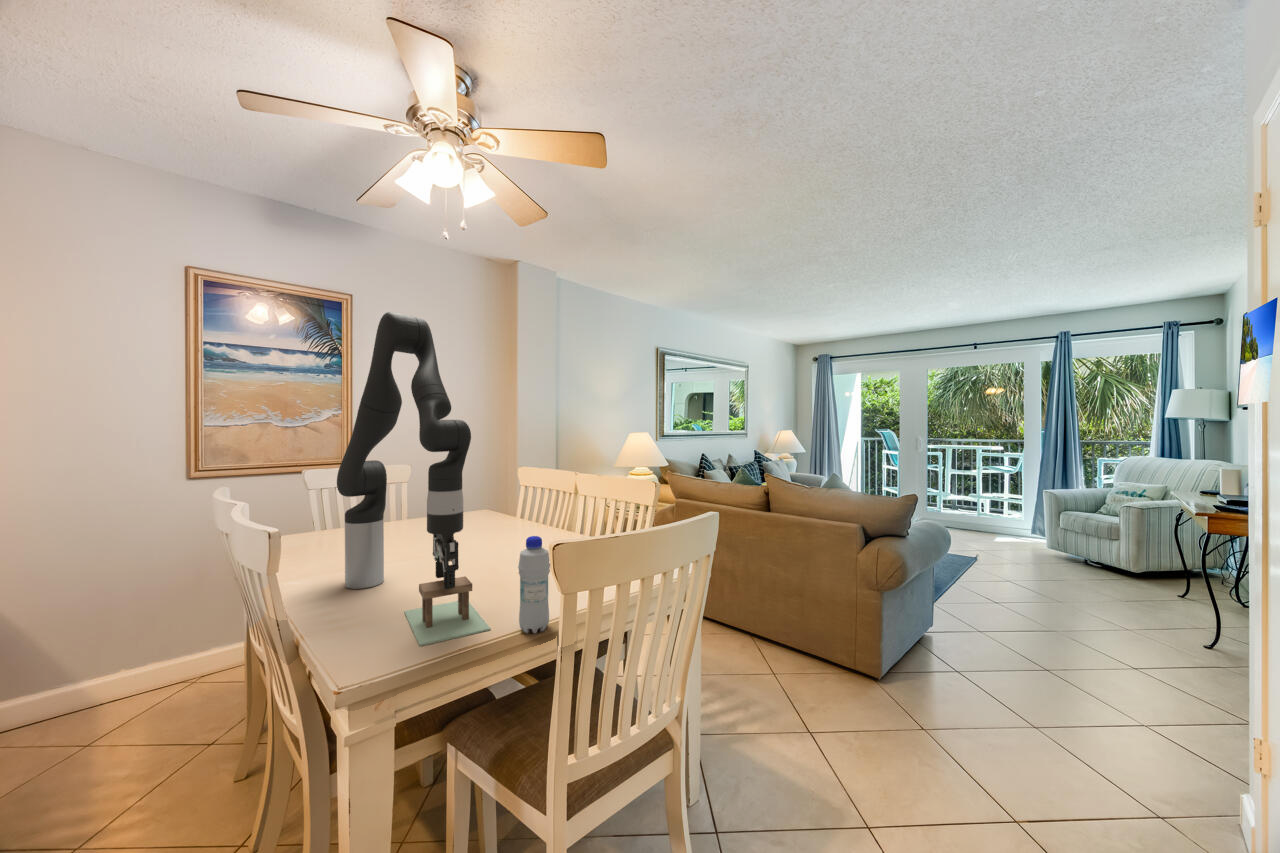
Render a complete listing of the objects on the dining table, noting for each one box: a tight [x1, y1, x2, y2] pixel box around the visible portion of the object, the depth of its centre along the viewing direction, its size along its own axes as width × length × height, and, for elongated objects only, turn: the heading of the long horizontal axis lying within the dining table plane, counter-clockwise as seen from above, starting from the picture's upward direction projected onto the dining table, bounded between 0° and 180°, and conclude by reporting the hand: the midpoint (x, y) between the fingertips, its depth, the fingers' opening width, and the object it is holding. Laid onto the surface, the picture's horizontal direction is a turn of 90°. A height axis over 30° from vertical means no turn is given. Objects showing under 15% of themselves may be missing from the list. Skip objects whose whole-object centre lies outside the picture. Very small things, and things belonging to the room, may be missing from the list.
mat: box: [403, 600, 491, 647], centre depth 110 cm, size 20×14×1 cm
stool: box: [418, 575, 473, 628], centre depth 110 cm, size 10×6×8 cm, turn 123°
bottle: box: [517, 535, 551, 634], centre depth 106 cm, size 7×7×20 cm
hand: (444, 582), depth 110 cm, fingers open, 8 cm apart
